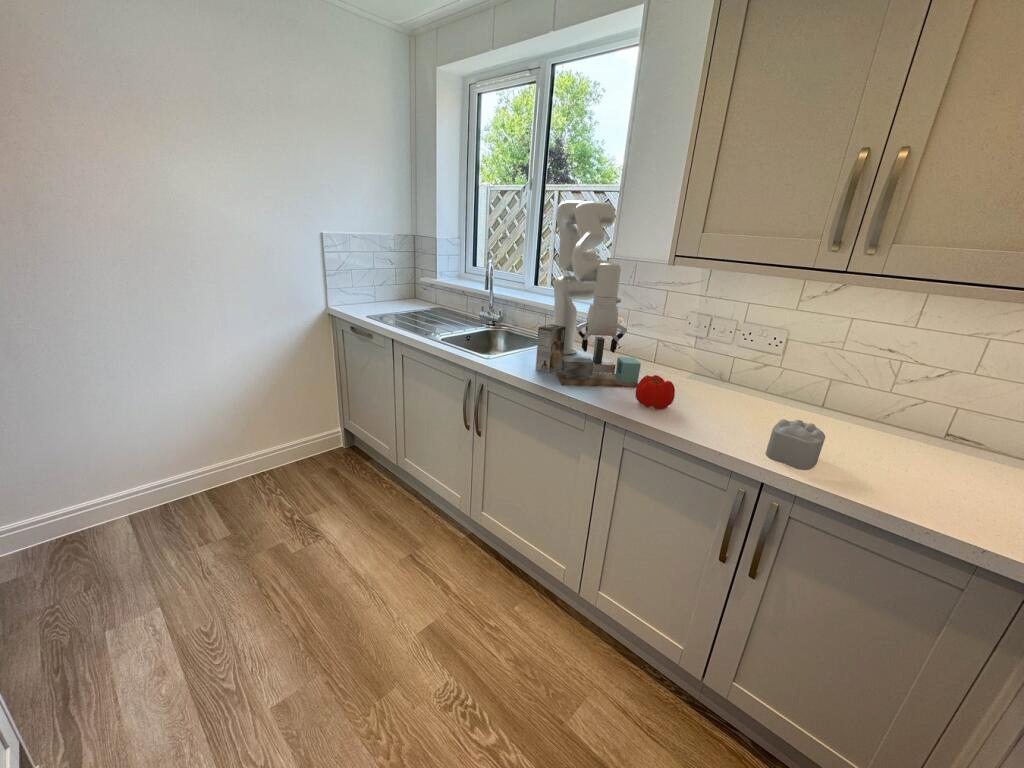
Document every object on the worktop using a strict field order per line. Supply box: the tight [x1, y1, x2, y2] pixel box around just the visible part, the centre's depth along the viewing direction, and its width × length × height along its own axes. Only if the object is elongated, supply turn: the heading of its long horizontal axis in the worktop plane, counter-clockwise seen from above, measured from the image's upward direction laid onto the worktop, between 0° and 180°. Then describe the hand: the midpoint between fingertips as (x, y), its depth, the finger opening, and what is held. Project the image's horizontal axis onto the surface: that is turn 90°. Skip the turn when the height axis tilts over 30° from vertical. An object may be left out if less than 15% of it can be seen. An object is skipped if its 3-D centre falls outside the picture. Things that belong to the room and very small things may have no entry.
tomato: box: [635, 374, 676, 411], centre depth 136 cm, size 11×12×9 cm
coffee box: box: [535, 323, 566, 374], centre depth 165 cm, size 9×6×16 cm
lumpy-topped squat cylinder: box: [765, 418, 826, 471], centre depth 109 cm, size 10×13×9 cm
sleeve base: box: [556, 356, 639, 389], centre depth 156 cm, size 27×12×7 cm, turn 93°
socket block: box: [614, 356, 641, 383], centre depth 156 cm, size 6×7×7 cm
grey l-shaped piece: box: [592, 336, 617, 374], centre depth 154 cm, size 16×3×12 cm, turn 93°
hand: (598, 351), depth 153 cm, fingers open, 9 cm apart
